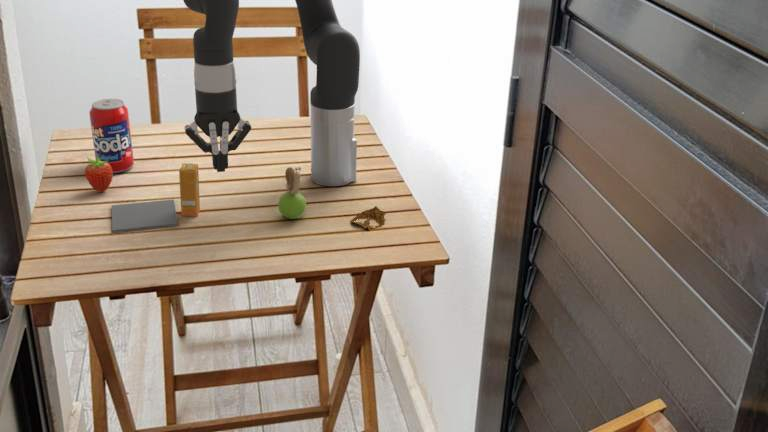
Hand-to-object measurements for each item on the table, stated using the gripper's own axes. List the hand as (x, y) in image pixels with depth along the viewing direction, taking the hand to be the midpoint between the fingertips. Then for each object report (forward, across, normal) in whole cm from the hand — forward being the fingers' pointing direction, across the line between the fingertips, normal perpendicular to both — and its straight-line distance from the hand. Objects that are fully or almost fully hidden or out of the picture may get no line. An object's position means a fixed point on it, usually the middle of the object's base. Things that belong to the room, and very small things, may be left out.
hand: (220, 170), depth 163 cm
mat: (+9, +15, -1) cm, 17 cm away
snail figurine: (+9, -13, +7) cm, 17 cm away
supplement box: (+9, +6, 0) cm, 11 cm away
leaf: (+9, -27, +12) cm, 31 cm away
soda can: (+9, +20, -26) cm, 34 cm away
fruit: (+9, +23, -14) cm, 28 cm away
